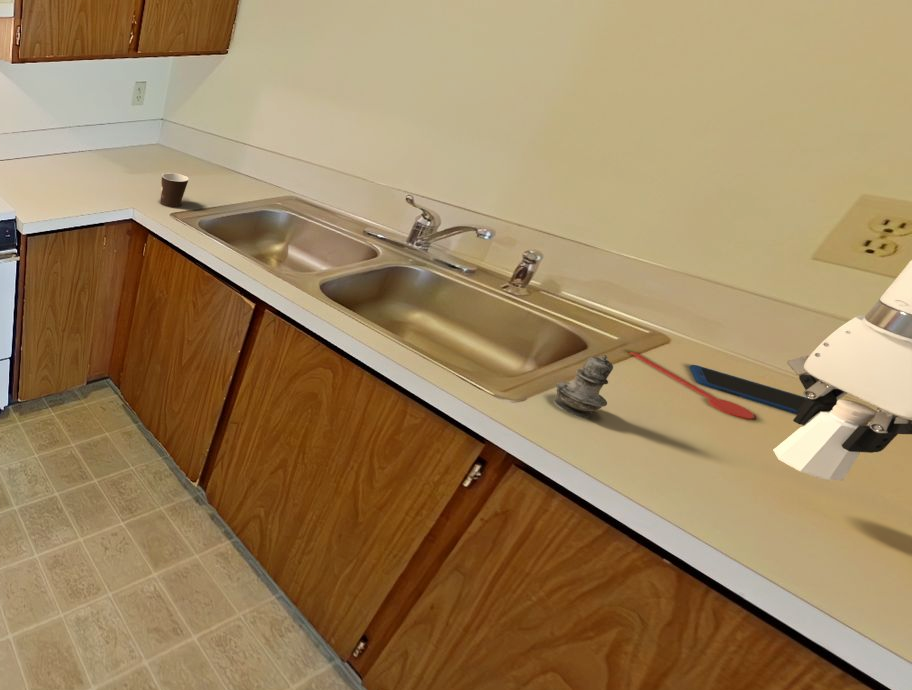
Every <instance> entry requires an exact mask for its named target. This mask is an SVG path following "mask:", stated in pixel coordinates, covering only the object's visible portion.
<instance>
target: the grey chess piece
mask: <svg viewBox="0 0 912 690" xmlns="http://www.w3.org/2000/svg"><path fill="white" fill-rule="evenodd" d="M607 359H608V356H607V355H606V354H603V355H601V357H599V356H590V357H588V358H587V360H586V361H585V363H584V364H583V366H582V367H581V368H579V369H577V370H575V371H576V376H575V377H574V379H573V380H572V381H571V382H569V381H559V382H557V383H556V384H555V387H556V395H557V397H555V398H554V399H553V400H552V401H553V403H554V404H555V406H556V407H558V408H559V409H561V410H562V411H564V412H566V413H568V414H571V415H573V416H576V417H580V418H584V419H585V418H586V419H589V418H593V413H592V412H595V411H598V410H600V409H602V408H605V407H606V406H607V405H608V402H607V400H606V398H604V396H602V395H601V394H600V391H601V390H602V388H603V386H604V385H608V384H609V380H608V377H609V376H610V374H611V373H612V371H613V370H614V365H613V363H612V362H611V361H609V360H607Z"/></svg>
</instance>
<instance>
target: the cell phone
mask: <svg viewBox="0 0 912 690" xmlns="http://www.w3.org/2000/svg"><path fill="white" fill-rule="evenodd" d="M689 370H690V372H691V375H692V377H693V379H694V382H696V383H697V384H698V385H701V386H704V387H706V388H709V389H712V390H716V391H720V392H723V393H725V394H729V395H731V396H735V397H738V398H742V399H745V400H748V401H751V402H755V403H758V404H761V405H764V406H768V407H770V408H774V409H778V410H781V411H784V412H787V413H790V414H793V415H796V416H797V415H798V414H797V410H798V409H799V408H800V407H801V406H802V404H803V403H804V402H805V401H806V399H807V397H805V396H804V395H803V396H802V395H799V394H796V393H792V392H789V391H785V390H783V389H779V388H775V387H772V386H768V385H765V384H762V383H759V382H755V381H751V380H748V379H744V378H741V377H738V376H735V375H731V374H728V373H724V372H721V371H717V370H715V369H711V368H708V367H704V366H701V365H699V364H698V365H697V364H690V365H689Z"/></svg>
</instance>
